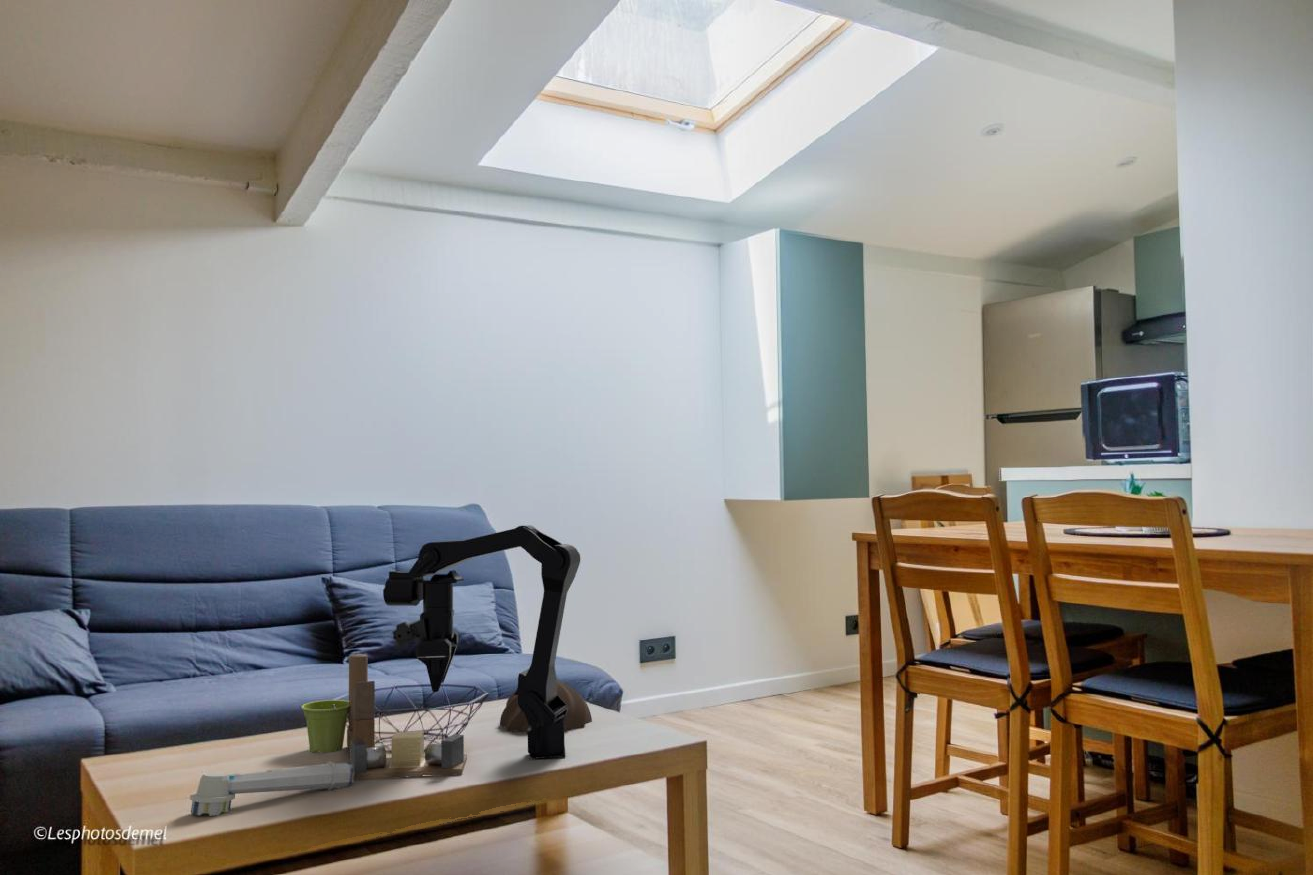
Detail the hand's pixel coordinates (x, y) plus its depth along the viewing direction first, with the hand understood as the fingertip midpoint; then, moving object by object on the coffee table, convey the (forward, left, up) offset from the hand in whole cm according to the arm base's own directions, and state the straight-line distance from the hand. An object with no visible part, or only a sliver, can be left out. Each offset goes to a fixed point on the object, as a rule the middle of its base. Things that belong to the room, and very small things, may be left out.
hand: (438, 687), depth 187 cm
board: (+4, +13, -12) cm, 18 cm away
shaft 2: (-3, +15, -11) cm, 19 cm away
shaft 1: (+11, +15, -11) cm, 21 cm away
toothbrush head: (+23, +27, -12) cm, 38 cm away
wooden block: (+15, -2, -12) cm, 20 cm away
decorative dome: (-21, -20, -12) cm, 31 cm away
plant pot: (+22, -5, -12) cm, 26 cm away
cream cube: (+4, +13, -11) cm, 17 cm away
